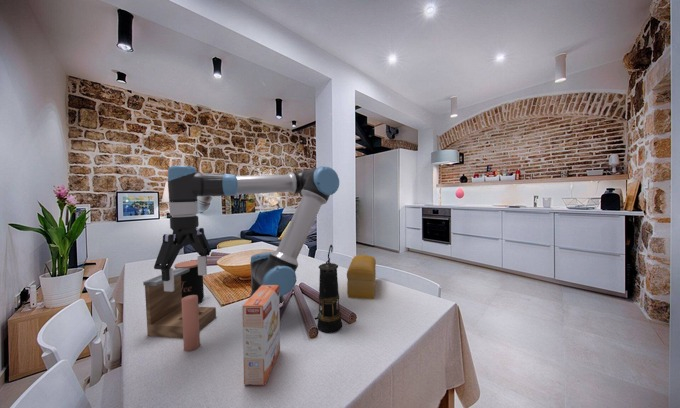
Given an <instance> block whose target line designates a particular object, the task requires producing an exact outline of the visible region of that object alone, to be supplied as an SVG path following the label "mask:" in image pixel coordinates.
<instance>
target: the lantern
mask: <svg viewBox="0 0 680 408" xmlns="http://www.w3.org/2000/svg"><path fill="white" fill-rule="evenodd" d="M333 249H334V247H333V244H330V246H329V248H328V254H327V259H328V260H327V261H326V262H325V263H322V264H320V265H318V269H319V284H318V285H319V289H318V291H319V292H318V293H319V294H318V301H319V305H318V307H319V308H318V313H317V316H316V317H314V320H315V321H317V326H316V327H318V328H317V330H318V331H319V332H321V333H324V334H334V333H337V332H339V331H340V330H342V328H343V322H342V313H341V309H340V307H341V306H340V299H341V298H340V297H341V296H340V292H339V281H338V280H339V278H338V268H339V265H338V264H336V263H334V262H331V257H330V255H331V253H333Z"/></svg>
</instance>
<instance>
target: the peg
mask: <svg viewBox="0 0 680 408" xmlns="http://www.w3.org/2000/svg"><path fill="white" fill-rule="evenodd" d="M181 300H182V321H183V338H182V340H183V351H184V352H192V351H195V350H197V349H198V348H199V347H200V346H201V337H200V331H199V311H198V307H199V304H198V296H197V295H189V296H186V297H184V298H182V299H181Z"/></svg>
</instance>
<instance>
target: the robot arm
mask: <svg viewBox="0 0 680 408" xmlns="http://www.w3.org/2000/svg"><path fill="white" fill-rule="evenodd" d="M339 188H340V179H339V175H338V173H337V172H336V170H334V169H333V168H332V167H330V166H323V165H322V166H318V167H315V168H310V169H309V168H308V169H306V170H301V171H297V172H294V171H293V172H289V173H288V174H264V175H263V174H261V175H260V174H259V175H257V174H256V175H235V174H232V173H203V172H201V173H200V172H198V171H197V168H196V167H195V166H192V165H171V166H169V167H168V169H167V190H168V191H167V192H168V202H169V203H168V205H169V215H170V216H171V217H170V218H169V226H170V227H169V228H170V229H171V230H172V233H170V234H169V233H167V234H166V233H164V234H162V235H163V236H162V243H161V245H160V249H159V251H158V255H157V257H156V261H155V262H154V266H153V269H154V270H160V271H161V275H162V281H164V291H169V292H173V291H174V270H175V269H174V268H172V266H174V265H173V264H174V263H175V261H176V259H177V257H178V255H179V253H180V251H181V250H182V249H183V248H184V247H186V246H189V245H190V246H191V247H192V249H194V251H195V252H196V253H197V254H198V255H199V256H197V260H198V275H203V276H207V275H208V270H207V269H208V267H207V266H208V265H207V264H208V260H207V259H208V258H207V257H208V256H210V254H211V252H212V249H211V246H210V244H209V242H208V239H207V237H206V235H205V230H204V228H203V227H199V215H198V214H199V200H198V197H231V196H236V195H253V194H254V195H255V194H270V193H271V194H272V193H290V194H292V195H293V194H301V195H302V197H301V199H300V200H299V203H298V205H297V207H296V209H295V211H294V213H293V215H292V218H291V220H290V222H289V223H288V226H287V228H286V230H285V232H284V234H283V236H282V238H281V240H280V242H279V244H278V247H277V248H276V250H275V251H269V252H268V251H267V252H260V253H254V254H253V255H251V256H250V262H249V263H250V278H251V279H250V280H251V282H250V283H251V291H250V293H249V298H250V297H251V296H252V295H253V294H254V293H255V292H256V291H257V290H258V288H259V287H260V286H261V285H279V304H280V303H282V302H283V301H284V302H285V297H284V296H285V295H288V294H289V293H290V292H291V291H292V290H293V289H294V288H295V285H296V284H297V274H296V271H297V270H298V267H299V263H298V257H299V254H300V253H301V250H302V248H303V246H304V245H305V241H306V240H307V237H308V236H309V233H310V231H311V228H312V227H313V225H314V223H315V220H316V218H317V216H318V214H319V211H320V209H321V207H322V205H325V204H327V202H328V200H329V199H330V196H333V195H334V194H335V193H336V192H337V191H338V190H339ZM249 298H248V299H249Z"/></svg>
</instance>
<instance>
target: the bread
mask: <svg viewBox="0 0 680 408" xmlns="http://www.w3.org/2000/svg"><path fill="white" fill-rule="evenodd" d="M376 261H377V260H376V258H375V257H374V256H372V255H367V254H357V255H355V256H353V258H352V260H351V262H350V263H349V265H348V266H349V267H348V269H347V271H346V278H347V282H346V283H347V284H346V286H347V289H346V291H347V297H348V298H349V299H363V300H364V299H365V300H374V299H375V297H376V296H375V292H376V277H377V275H376V271H377V270H376V263H377V262H376Z"/></svg>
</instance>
